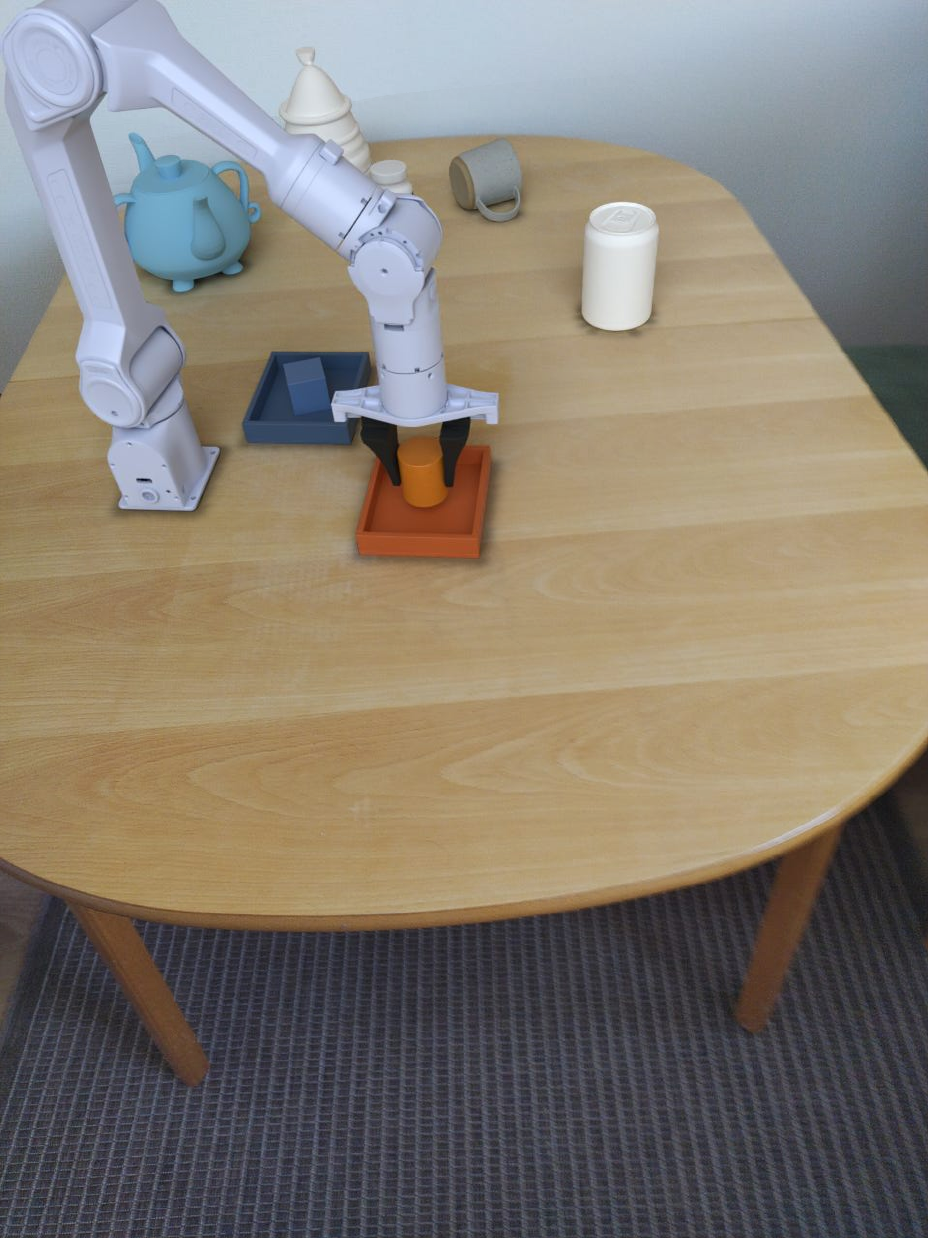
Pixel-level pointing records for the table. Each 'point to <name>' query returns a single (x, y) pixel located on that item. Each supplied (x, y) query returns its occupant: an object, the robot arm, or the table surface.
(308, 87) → the honey pot
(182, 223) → the teapot
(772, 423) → the table surface
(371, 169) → the pill bottle
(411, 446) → the amber cylinder
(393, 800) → the table surface
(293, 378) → the blue block
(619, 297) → the beverage can
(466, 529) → the orange tray
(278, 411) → the blue tray
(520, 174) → the ceramic mug
